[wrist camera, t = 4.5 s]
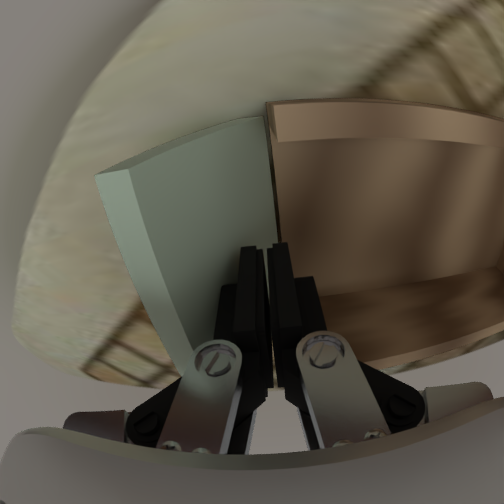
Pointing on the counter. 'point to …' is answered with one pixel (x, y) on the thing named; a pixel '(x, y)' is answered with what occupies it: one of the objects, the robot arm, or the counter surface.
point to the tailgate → (191, 224)
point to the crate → (394, 220)
